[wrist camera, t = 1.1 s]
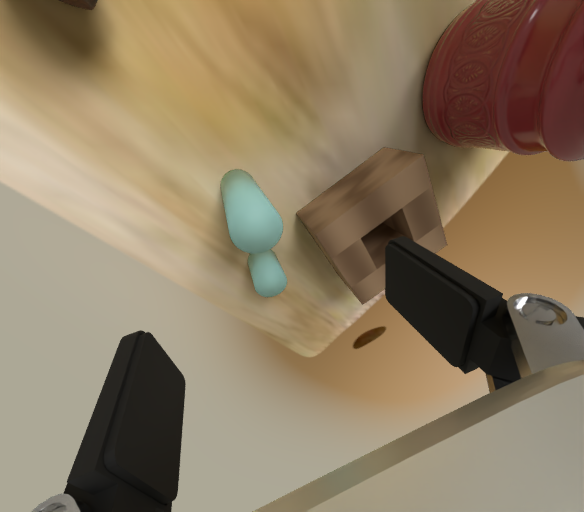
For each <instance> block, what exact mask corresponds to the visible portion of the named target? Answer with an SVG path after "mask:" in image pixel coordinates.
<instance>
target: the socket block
mask: <svg viewBox="0 0 584 512" xmlns="http://www.w3.org/2000/svg"><path fill="white" fill-rule="evenodd" d="M296 214H297V215H298V217H299V218H300V220H301V221H302V223H303V224H304V225H305V227H306V228H307V230H308V231H309V233H310V234H311V236H312V237H313V239H314V240H315V241H316V243H317V244H318V246H319V247H320V249H321V250H322V252H323V253H324V255H325V256H326V257H327V259H328V260H329V262H330V263H331V265H332V266H333V268H334V269H335V271H336V272H337V273H338V275H339V276H340V278H341V279H342V280H343V281H344V283H345V284H346V285H347V286H348V287H349V289H350V290H351V291H352V292H353V294H354V295H355V296H356V297H357V298H358V300H359V301H360V302H361V303H362V305H363V304H364V303H366V302H367V301H369V300H370V299H372V298H373V297H374V296H376V295H377V294H379V293H380V292H381V291H383V290H384V289H385V247H386V246H387V245H388V242H389V241H390V240H392V239H395V238H398V237H401V236H405V237H407V238H409V239H411V240H412V241H414V242H416V243H417V244H419V245H421V246H423V247H424V248H426V249H428V250H429V251H431V252H433V253H436V252H438V251H439V250H441V249H442V248H444V247H445V246H446V245H447V242H446V238H445V234H444V231H443V227H442V223H441V219H440V215H439V211H438V207H437V203H436V200H435V196H434V192H433V188H432V184H431V180H430V176H429V173H428V169H427V165H426V161H425V157H424V155H423V154H418V153H413V152H407V151H402V150H396V149H391V148H385V147H384V148H382V149H381V150H380V151H378V152H377V153H376V154H374V155H373V156H372V157H370V158H369V159H368V160H366V161H365V162H364V163H362V164H361V165H360V166H358V167H357V168H356V169H354V170H353V171H352V172H350V173H349V174H348V175H346V176H345V177H344V178H342V179H341V180H340V181H338V182H337V183H336V184H334V185H333V186H332V187H330V188H329V189H328V190H326V191H325V192H324V193H322V194H321V195H320V196H318V197H317V198H316V199H314V200H313V201H312V202H310V203H309V204H308V205H306V206H305V207H304V208H302V209H301V210H300V211H298V212H297V213H296ZM379 224H380V225H379ZM376 226H377V227H376ZM375 227H376V228H375ZM372 229H373V230H372ZM368 232H369V233H368ZM365 234H366V235H365ZM364 235H365V236H364ZM361 237H362V238H361Z"/></svg>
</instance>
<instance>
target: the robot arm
mask: <svg viewBox="0 0 584 512" xmlns="http://www.w3.org/2000/svg"><path fill="white" fill-rule="evenodd" d="M385 295H386V299H387V300H388V302H389V303H390V304H391V305H392V306H393V307H394V308H395V309H396V310H397V311H398V312H399V313H400V314H401V315H402V316H403V317H404V318H405V319H406V320H407V321H408V322H409V323H410V324H411V325H412V326H413V327H414V328H415V329H416V330H417V331H418V332H419V333H420V334H421V335H422V336H423V337H424V338H425V339H426V340H427V341H428V342H429V343H430V344H431V345H432V346H433V347H434V348H435V349H436V350H437V351H438V352H439V353H440V354H441V355H442V356H443V357H444V358H445V359H446V360H447V361H448V362H449V363H450V364H451V365H452V366H454V367H459V368H460V369H461V370H462V371H463V372H464V373H465V374H466V373H468V372H470V371H473V370H475V369H477V368H478V367H480V368H481V369H482V370H483V371H484V372H485V373H486V378H487V382H488V387H489V391H490V393H489V394H487V395H485V396H483V397H481V398H479V399H477V400H475V401H473V402H471V403H469V404H467V405H465V406H463V407H461V408H459V409H457V410H455V411H453V412H451V413H449V414H446V415H444V416H443V417H440V418H438V419H437V420H434V421H432V422H430V423H428V424H426V425H424V426H422V427H420V428H418V429H417V430H414V431H412V432H410V433H408V434H406V435H404V436H402V437H400V438H398V439H396V440H394V441H392V442H390V443H388V444H386V445H384V446H382V447H380V448H378V449H376V450H374V451H372V452H370V453H368V454H366V455H364V456H362V457H360V458H358V459H356V460H354V461H352V462H350V463H348V464H346V465H344V466H342V467H340V468H338V469H336V470H334V471H332V472H330V473H328V474H326V475H324V476H322V477H320V478H318V479H316V480H314V481H312V482H310V483H308V484H306V485H304V486H302V487H300V488H298V489H296V490H294V491H292V492H290V493H288V494H287V495H285V496H282V497H281V498H278V499H277V500H275V501H273V502H271V503H269V504H267V505H265V506H263V507H261V508H259V509H257V510H255V511H253V512H584V318H583V317H577V316H575V315H574V314H573V313H572V311H571V310H570V309H569V308H567V307H566V306H564V305H563V304H562V303H560V302H558V301H556V300H553V299H552V298H549V297H545V296H542V295H537V294H530V293H529V294H528V293H521V294H517V295H513V296H512V297H510V298H509V299H508V301H506V300H505V299H503V298H502V295H503V293H501V292H499V291H498V290H496V289H494V288H492V287H491V286H489V285H487V284H486V283H484V282H482V281H481V280H479V279H477V278H475V277H474V276H472V275H470V274H469V273H467V272H465V271H464V270H462V269H460V268H458V267H457V266H455V265H453V264H452V263H450V262H448V261H446V260H445V259H443V258H441V257H440V256H438V255H436V254H435V253H433V252H431V251H429V250H428V249H426V248H424V247H423V246H421V245H419V244H417V243H416V242H414V241H412V240H411V239H409V238H407V237H405V236H401V237H398V238H395V239H392V240H390V241H389V242H388V245H387V246H386V247H385ZM184 398H185V379H184V376H183V375H182V373H181V372H180V371H179V369H178V368H177V367H176V365H175V364H174V363H173V361H172V360H171V359H170V358H169V356H168V355H167V354H166V352H165V351H164V350H163V348H162V347H161V346H160V345H159V343H158V342H157V341H156V339H155V338H154V337H153V335H152V334H151V333H149V332H147V333H145V332H144V331H138V332H135V333H132V334H129V335H127V336H124V337H123V338H122V339H121V341H120V343H119V346H118V348H117V351H116V354H115V356H114V359H113V362H112V364H111V367H110V369H109V372H108V375H107V377H106V380H105V383H104V385H103V388H102V391H101V393H100V396H99V398H98V401H97V404H96V406H95V409H94V412H93V414H92V417H91V419H90V422H89V425H88V427H87V430H86V433H85V435H84V438H83V440H82V443H81V446H80V449H79V451H78V454H77V456H76V459H75V461H74V464H73V467H72V469H71V472H70V475H69V477H68V480H67V482H68V483H67V486H66V488H65V491H64V494H58V495H56V496H53V497H50V498H49V499H47V500H46V501H44V502H43V503H41V504H39V505H38V506H37V507H36V508H35V509H34V510H33V511H32V512H171V507H172V501H173V500H175V498H176V496H177V492H178V481H179V467H180V452H181V438H182V425H183V411H184Z"/></svg>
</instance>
